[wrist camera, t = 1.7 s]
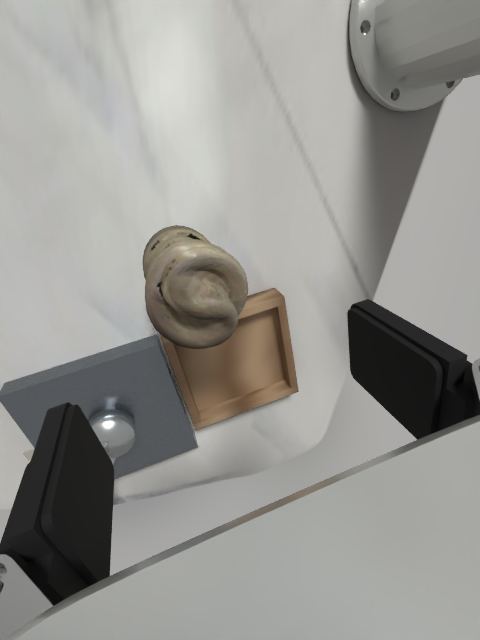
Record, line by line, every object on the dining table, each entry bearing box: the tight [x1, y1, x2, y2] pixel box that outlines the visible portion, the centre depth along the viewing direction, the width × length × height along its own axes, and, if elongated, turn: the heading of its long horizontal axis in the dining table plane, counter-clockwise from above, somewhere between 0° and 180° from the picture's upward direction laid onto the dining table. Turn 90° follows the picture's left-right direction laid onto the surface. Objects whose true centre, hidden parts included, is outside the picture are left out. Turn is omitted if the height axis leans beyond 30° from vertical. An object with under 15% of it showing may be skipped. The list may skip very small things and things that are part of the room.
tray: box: [160, 288, 299, 430], centre depth 34 cm, size 12×12×2 cm
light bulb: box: [143, 225, 248, 349], centre depth 22 cm, size 6×6×15 cm
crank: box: [89, 409, 135, 464], centre depth 30 cm, size 11×4×8 cm, turn 157°
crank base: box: [0, 335, 198, 479], centre depth 33 cm, size 15×14×2 cm
